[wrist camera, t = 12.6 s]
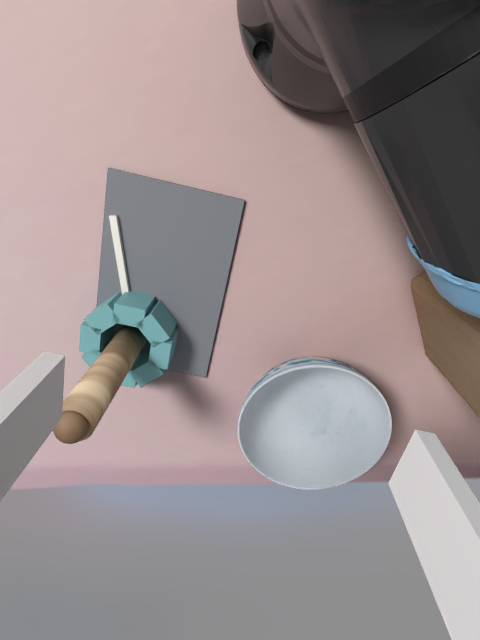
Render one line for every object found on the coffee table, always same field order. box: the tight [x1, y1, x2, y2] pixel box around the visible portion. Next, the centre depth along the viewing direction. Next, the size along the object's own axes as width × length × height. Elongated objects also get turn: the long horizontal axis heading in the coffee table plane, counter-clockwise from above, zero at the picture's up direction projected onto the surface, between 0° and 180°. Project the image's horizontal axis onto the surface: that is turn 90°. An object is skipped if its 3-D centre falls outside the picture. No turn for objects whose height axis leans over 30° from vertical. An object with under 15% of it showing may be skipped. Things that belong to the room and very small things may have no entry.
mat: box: [97, 168, 245, 378], centre depth 40 cm, size 20×13×1 cm, turn 167°
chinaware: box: [237, 357, 392, 490], centre depth 41 cm, size 15×15×8 cm
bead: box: [79, 291, 179, 388], centre depth 41 cm, size 9×9×4 cm
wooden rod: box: [53, 325, 147, 444], centre depth 34 cm, size 3×3×17 cm
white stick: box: [109, 215, 130, 295], centre depth 39 cm, size 8×1×1 cm, turn 2°
